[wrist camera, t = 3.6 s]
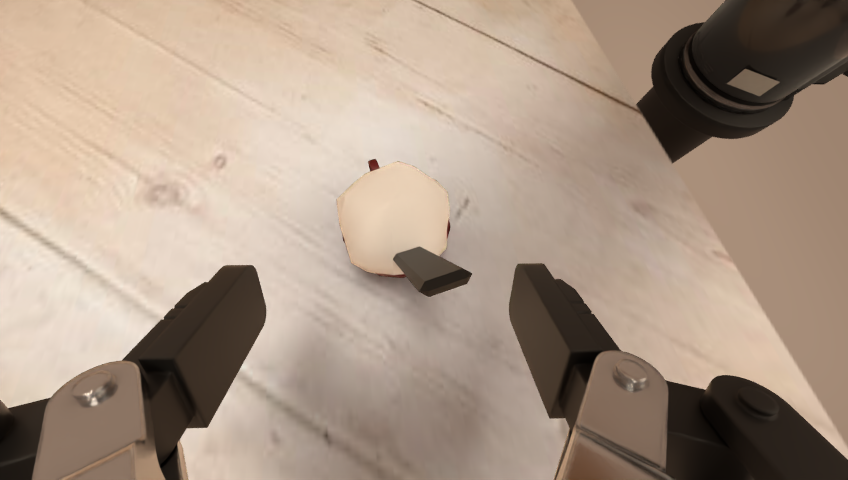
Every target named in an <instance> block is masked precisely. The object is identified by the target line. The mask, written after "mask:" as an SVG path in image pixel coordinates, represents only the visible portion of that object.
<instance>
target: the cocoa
mask: <svg viewBox="0 0 848 480" xmlns="http://www.w3.org/2000/svg"><path fill="white" fill-rule="evenodd" d="M368 164H369V168H370V171H371V172H368V173H366V174H364V175H363V176H362V177H360V178H359V179H358V180H357V181H356V182H355V183H353V184H352V185H351V186H350V187H349V188H348V189H347V190H346V191H345V192H344V193H343V194H342V195H341V196H340V197H339V198H338V199H337V200H336V201H337V209H338V216H339V224H340V228H341V231H342V234H343V241H344V242H345V244H346V247H347V250H348V254H349V257H350V260H351V263H352V264H354V265H356V266H358V267H359V268H361V269H363V270H365V271H367V272H368V273H375V274H377V275H379V276H386V277H397V278H404V277H407V278H408V279H409V280H410V281H411V283H412V284H413V285H414V286H415V288H416V289H417V290H418V291H419V292H420V293H422V294H424V295H426V296H428V297H431V296H433V295H436V294H439V293H442V292H445V291H448V290H451V289H453V288H456V287H459V286H462V285H465V284H467V283H468V281H469V279H470V277H471V275H472V273H470V272H469V271H467V270H465V269H463V268H461V267H459V266H457V265H455V264H453V263H451V262H449V261H447V260H445V259H443V258H441V257H439V256H440V255H441V254H442V253H443V251H444V250H445V249H446V248H447V237H448V234H449V231H450V222H449V214H450V208H449V200H448V192H447V191H446V190H445V189H444V188H443V187H442V186H441V185H440V184H439V183H438V182H437V181H436V180H434V179H432V178H430V177H429V176H427V175H426V174H424V173H423V172H421V171H420V170H419V169H417V168H416V167H414V166H411V165H408V164H405V163H402V162H399V161H397V162H394V163H392V164H389V165H386V166H384V167H381V168H379V165H378V163H377V161H376V159H373V160H370V161H368Z"/></svg>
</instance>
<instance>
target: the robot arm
mask: <svg viewBox="0 0 848 480" xmlns="http://www.w3.org/2000/svg"><path fill="white" fill-rule="evenodd" d="M678 62H679V68H680V71H681V74H682V76H683V78H684V80H685V82H686V83H687V84H688V86H689V87H690V88H691V89H692V91H693V92H694V93H695V94H697V95H698V96H699V97H700V98H701V99H703V100H704V101H706V102H707V103H709V104H710V105H712V106H714V107H716V108H718V109H721V110H723V111H727V112H730V113H735V114H744V115H748V114H757V113H760V112H763V111H766V110H768V109H769V108H771V107H772V106H774V105H775V104H777V103H778V102H780V101H786V100H788V99H789V98H791V97H792V96H794V95H796V94H797V93H799V92H800V91H802V90H803V89H805V88H806V87H808V86H810V85H811V84H820V85H823V84H826V83H827V82H829V81H831V80H832V79H834V78H835V77H837V76H839V75H840V74H843V75H845V76H847V77H848V0H725V2H724V3H723V4H722V5H721V6H720V7H719V8H718V9H717V10H716V11H715V12H714V13H713V15H711V17H710V18H709V19H708V20H707V21H706V22H705V23H704V24H703V25H702V26H701V27H700V28H699V29H698V30H696V31H695V32H694V33H693V34H692V35H691V36H690V37H689V38H688V40H687V41H686V42H685V43H684V44H683V46H682V47H681V49H680V52H679V58H678ZM509 315H510V321H511V324H512V326H513V329H514V331H515V334H516V336H517V339H518V341H519V344H520V346H521V349H522V351H523V354H524V356H525V359H526V361H527V364H528V366H529V369H530V371H531V374H532V376H533V379H534V381H535V384H536V386H537V389H538V391H539V394H540V396H541V399H542V401H543V404H544V406H545V409H546V411H547V413H548V416H549V418H550V419H551V418H566V421H567V423H568V425H569V427H570V429H569V432H568V434H567V437H566V441H565V444H564V447H563V450H562V454H561V457H560V460H559V463H558V467H557V470H556V473H555V476H554V479H553V480H848V460H847V459H846V458H845V457H844V456H843V455H842V454H841V453H840V452H839V451H838V450H837V449H836V448H835V447H834V446H833V445H831V444H830V443H829V442H828V441H827V440H826V439H825V438H824V437H823V436H822V435H821V434H820V433H819V432H818V431H817V430H816V429H815V428H813V427H812V426H811V425H810V424H809V423H808V422H807V421H806V420H805V419H804V418H803V417H802V416H801V415H800V414H799V413H798V412H797V411H795V410H794V409H793V408H792V407H791V406H790V405H789V404H788V403H787V402H786V401H784V400H783V399H782V398H780V397H779V396H778V395H776V394H775V393H773V392H772V391H770V390H768V389H767V388H765V387H763V386H761V385H759V384H757V383H755V382H752V381H750V380H747V379H744V378H741V377H736V376H730V375H721V376H717V377H715V378H714V379H713V380H712V381H711V383H710V384H709V386H708V387H707V389H706V390H704V389H699V388H695V387H691V386H687V385H682V384H678V383H674V382H670V381H666V380H665V379H664V378H663V376H662V375H661V374H660V373H659V372H658V371H657V370H656V369H655V368H654V367H653V366H652V365H651V364H649V363H648V362H646V361H645V360H643V359H641V358H639V357H637V356H635V355H633V354H630V353H627V352H623V351H621V350H620V349H619V348H618V346H617V345H616V344H615V342H614V341H613V340H612V338H611V337H610V336H609V334H608V333H607V332H606V330H605V329H604V328H603V326H602V325H601V324H600V322H599V321H598V319H597V318H596V317H595V315H594V314H592V313H591V310H590V309H589V307H588V306H587V305H586V304H584V301H583V299H582V298H581V297H580V295H579V294H578V293H577V291H576V290H575V289H574V288H572V287H571V286H570V285H568V284H567V283H565V282H564V281H563V280H561V279H554V278H553V276H552V275H551V273H550V272H549V271H548V269H547V268H546V266H545V265H544V264H542V263H538V264H518V265H517V266H516V269H515V274H514V279H513V285H512V291H511V296H510V302H509ZM265 319H266V305H265V301H264V297H263V293H262V289H261V286H260V282H259V278H258V274H257V271H256V269H255V267H254V266H252V265H226V266H223V267H222V268H221V269H220V270H219V271H218V272H217V273H216V274H215V275H214V276H213V277H212V279H211V280H210V281H209V282H204V283H203V284H201V285H200V286H198V287H196V288H195V289H193V290H191V291H190V292H188V293H187V294H186V295H185V296H184V297H183V298H182V299H181V300H180V301H179V302H178V303H177V304H176V305H175V308H174V309H171V310H170V311H169V312H168V313H167V314H166V315H165V316H164V320H161V321H160V322H159V323H158V324H157V325H156V326H155V327H154V328H153V329H152V330H151V331H150V332H149V333H148V334H147V335H146V336H145V337H144V338H143V339H142V340H141V341H140V342H139V343H138V344H137V345H136V346H135V347H134V348H133V349H132V350H131V351H130V353H129V354H128V355H127V356H126V357H125V358H124V359H123V360H122V361H115V362H110V363H106V364H102V365H99V366H96V367H94V368H92V369H89V370H87V371H85V372H83V373H81V374H80V375H78V376H76V377H74V378H73V379H71V380H70V381H68V382H67V383H66V384H64V385H63V386H62V387H61V388H60V389H59V390H58V391H57V392H56V393H55V394H54V395H53V396H52V397H51V398H48V399H44V400H40V401H36V402H32V403H28V404H24V405H20V406H16V407H12V408H7V407H6V406H5V405H4V404H3V403H2V401H1V400H0V480H188V474H187V469H186V463H185V458H184V452H183V447H182V444H181V442H180V441H179V440H180V438H181V436H182V435H183V433H184V432H185V430H186V428H207V427H208V426H209V424H210V422H211V420H212V418H213V416H214V415H215V413H216V411H217V409H218V407H219V406H220V404H221V402H222V400H223V398H224V397H225V395H226V393H227V391H228V389H229V388H230V386H231V384H232V382H233V380H234V378H235V377H236V375H237V373H238V371H239V369H240V368H241V366H242V364H243V362H244V360H245V359H246V357H247V355H248V353H249V351H250V350H251V348H252V346H253V344H254V342H255V341H256V339H257V337H258V335H259V333H260V331H261V330H262V328H263V326H264V323H265Z"/></svg>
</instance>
